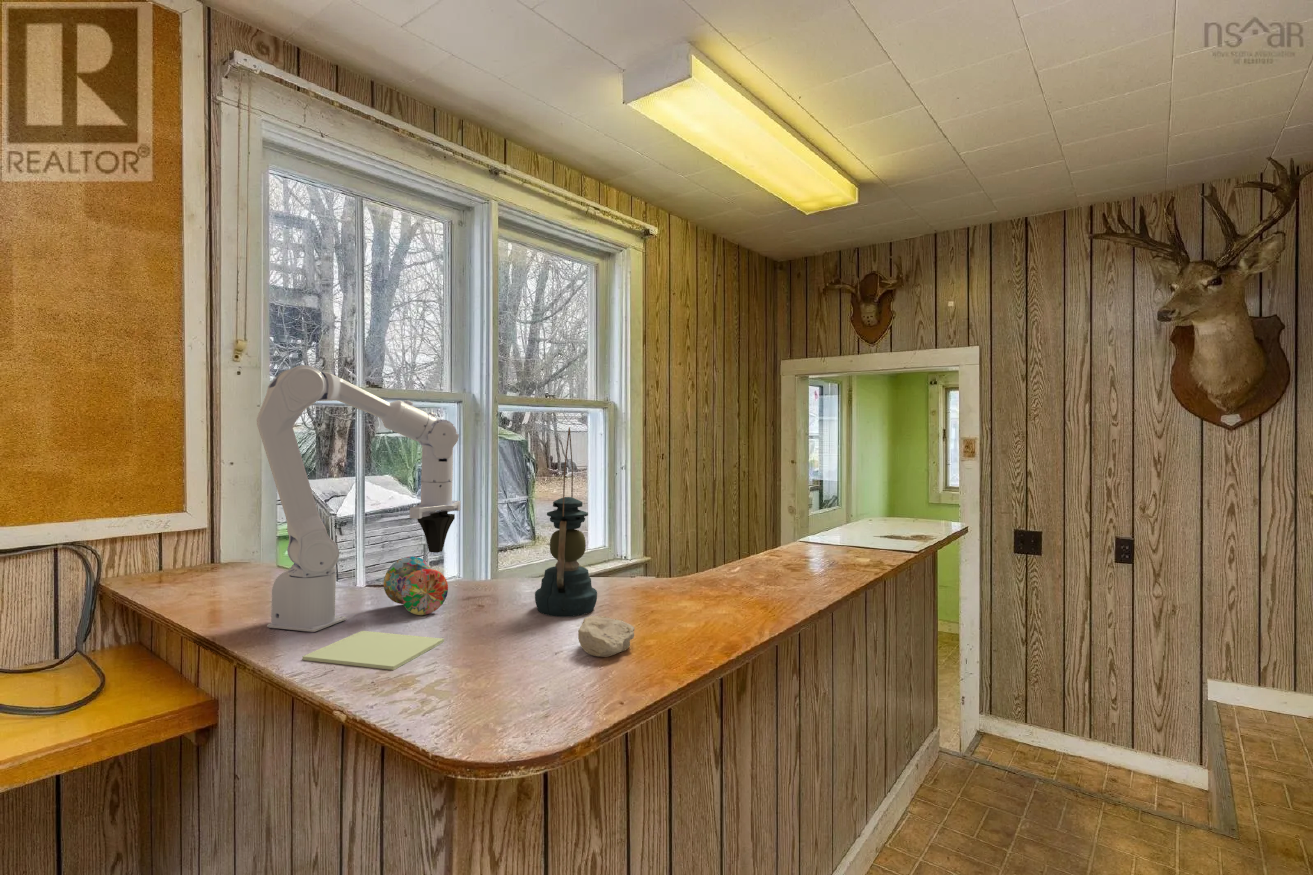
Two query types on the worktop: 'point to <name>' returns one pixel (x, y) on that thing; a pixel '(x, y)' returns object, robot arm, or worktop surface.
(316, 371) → the robot arm
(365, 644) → the mat
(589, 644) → the beige stone
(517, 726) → the worktop surface
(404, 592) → the mug
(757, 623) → the worktop surface
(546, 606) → the lantern
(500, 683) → the worktop surface
